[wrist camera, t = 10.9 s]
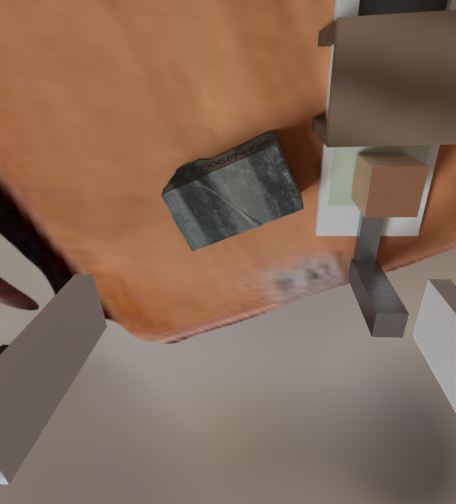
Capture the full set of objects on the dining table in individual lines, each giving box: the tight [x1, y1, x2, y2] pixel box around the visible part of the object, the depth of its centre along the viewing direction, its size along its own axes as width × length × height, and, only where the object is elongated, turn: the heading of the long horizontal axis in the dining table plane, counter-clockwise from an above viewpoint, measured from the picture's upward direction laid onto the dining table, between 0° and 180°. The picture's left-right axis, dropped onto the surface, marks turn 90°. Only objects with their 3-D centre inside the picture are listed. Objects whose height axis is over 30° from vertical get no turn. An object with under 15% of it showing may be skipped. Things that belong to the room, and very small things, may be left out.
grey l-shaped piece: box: [348, 153, 429, 337], centre depth 35 cm, size 16×5×11 cm, turn 2°
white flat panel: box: [315, 0, 456, 236], centre depth 35 cm, size 27×12×1 cm, turn 3°
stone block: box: [161, 131, 304, 251], centre depth 39 cm, size 9×14×5 cm, turn 116°
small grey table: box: [312, 10, 456, 147], centre depth 30 cm, size 9×15×10 cm, turn 93°
